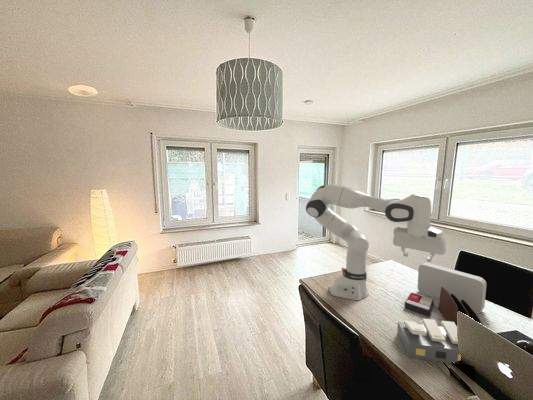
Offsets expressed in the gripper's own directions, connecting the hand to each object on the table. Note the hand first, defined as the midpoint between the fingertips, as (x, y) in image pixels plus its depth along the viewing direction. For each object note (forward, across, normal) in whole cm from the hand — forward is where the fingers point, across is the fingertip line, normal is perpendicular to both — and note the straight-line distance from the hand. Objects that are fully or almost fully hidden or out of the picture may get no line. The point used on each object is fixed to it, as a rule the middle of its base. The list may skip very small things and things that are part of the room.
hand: (417, 258), depth 102 cm
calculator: (+34, -3, +18) cm, 38 cm away
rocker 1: (+24, +4, -16) cm, 29 cm away
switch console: (+33, +10, -12) cm, 36 cm away
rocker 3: (+24, +15, -8) cm, 30 cm away
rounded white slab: (+33, +6, +35) cm, 49 cm away
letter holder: (+33, +14, +16) cm, 40 cm away
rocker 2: (+24, +10, -12) cm, 29 cm away
